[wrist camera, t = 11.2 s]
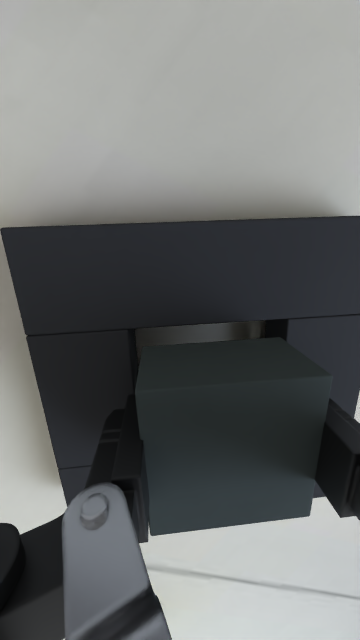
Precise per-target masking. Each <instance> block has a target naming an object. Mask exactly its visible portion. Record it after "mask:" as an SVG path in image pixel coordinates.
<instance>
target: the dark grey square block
mask: <svg viewBox="0 0 360 640" xmlns="http://www.w3.org/2000/svg"><path fill="white" fill-rule="evenodd" d="M332 378H333V376H332V375H331V374H330V373H329V372H327V371H326V370H325V369H323V368H322V367H320V366H319V365H318V364H316V363H315V362H314V361H312V360H311V359H309V358H308V357H307V356H305V355H304V354H303V353H301V352H300V351H298V350H297V349H296V348H294V347H293V346H292V345H290V344H289V343H287V342H286V341H285V340H283V339H282V338H280V337H276V338H262V339H247V340H233V341H219V342H204V343H190V344H176V345H161V346H147V347H143V348H142V352H141V358H140V364H139V370H138V376H137V382H136V388H135V399H136V408H137V417H138V427H139V436H140V440H143V442H144V452H145V461H146V471H147V480H148V490H149V527H150V534H151V536H156V535H164V534H172V533H180V532H188V531H195V530H203V529H211V528H219V527H227V526H235V525H243V524H251V523H259V522H267V521H275V520H283V519H291V518H299V517H307V516H310V511H311V505H312V499H313V493H314V487H315V476H316V470H317V463H318V457H319V451H320V445H321V439H322V433H323V427H324V422H325V421H326V414H327V408H328V402H329V396H330V390H331V384H332Z"/></svg>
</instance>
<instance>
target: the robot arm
mask: <svg viewBox="0 0 360 640" xmlns="http://www.w3.org/2000/svg"><path fill="white" fill-rule="evenodd" d="M315 481H316V482H317V484H318V485H319V487H320V488H321V490H322V491H323V493H324V494H325V496H326V497H327V499H328V500H329V502H330V503H331V505H332V506H333V508H334V509H335V510H336V512H337V513H338V515H339V516H340V518H343V517H351V516H357V518H358V519H359V520H360V423H358V422H357V421H356V420H355V419H352V416H350V415H349V414H348V413H347V412H346V411H343V409H342V408H341V407H340V406H339V405H338V404H337V403H335V402H334V401H333V400H332V399H330V398H329V402H328V408H327V414H326V421H325V422H324V427H323V433H322V439H321V445H320V451H319V457H318V463H317V470H316V476H315ZM148 526H149V490H148V480H147V471H146V461H145V452H144V442H143V440H140V436H139V427H138V417H137V408H136V399H135V394H129V395H128V397H127V402H126V407H125V409H115V410H113V412H112V413H111V414H110V415H109V416H108V417H107V419H106V420H105V423H104V427H103V430H102V434H101V436H100V440H99V444H98V446H97V449H96V453H95V456H94V459H93V462H92V466H91V469H90V472H89V476H88V479H87V482H86V485H85V488H84V490H83V491H81V492H80V493H79V494H78V495H77V496H76V497H75V498H74V499H73V500H72V501H71V503H70V504H69V505H68V507H67V509H66V511H65V513H64V514H62V515H61V516H59V517H58V518H56V519H54V520H52V521H50V522H48V523H46V524H44V525H41V526H39V527H37V528H34V529H32V530H30V531H28V532H25V533H23V534H21V535H20V534H19V531H18V529H17V528H16V527H15V526H14V525H12V524H9V523H0V640H62V639H64V638H65V640H172V638H171V635H170V632H169V629H168V625H167V622H166V619H165V616H164V613H163V610H162V607H161V604H160V602H159V599H158V597H157V596H156V595H155V594H154V592H153V589H152V586H151V583H150V580H149V576H148V573H147V570H146V566H145V563H144V559H143V556H142V553H141V549H140V546H139V543H144V542H148Z"/></svg>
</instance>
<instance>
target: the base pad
mask: <svg viewBox="0 0 360 640" xmlns="http://www.w3.org/2000/svg"><path fill="white" fill-rule="evenodd" d="M0 231H1V235H2V240H3V244H4V248H5V252H6V256H7V260H8V264H9V268H10V272H11V277H12V281H13V285H14V289H15V293H16V297H17V301H18V305H19V310H20V314H21V318H22V322H23V326H24V330H25V334H26V335H28V336H27V337H26V339H27V343H28V347H29V351H30V355H31V360H32V364H33V368H34V372H35V376H36V380H37V384H38V388H39V392H40V397H41V401H42V405H43V409H44V413H45V417H46V421H47V425H48V429H49V434H50V438H51V442H52V446H53V450H54V454H55V458H56V462H57V467H58V468H59V469H58V471H59V475H60V479H61V483H62V487H63V491H64V495H65V500H66V504H67V507H68V505H69V504H70V503H71V501H72V500H73V499H74V498H75V497H76V496H77V495H78V494H79V493H80V492H81V491H83V490H84V488H85V485H86V482H87V479H88V476H89V472H90V469H91V466H92V462H93V459H94V456H95V453H96V449H97V446H98V444H99V440H100V436H101V434H102V430H103V427H104V423H105V420H106V419H107V417H108V416H109V415H110V414H111V413H112V412H113V410H115V409H125V407H126V402H127V397H128V395H129V394H135V388H136V382H137V376H138V361H137V351H136V341H135V331H134V329H136V328H151V327H166V326H182V325H197V324H212V323H228V322H243V321H258V320H266V332H265V338H276V337H280V338H282V339H283V340H285V341H286V342H287V343H289V344H290V345H292V346H293V347H294V348H296V349H297V350H298V351H300V352H301V353H303V354H304V355H305V356H307V357H308V358H309V359H311V360H312V361H314V362H315V363H316V364H318V365H319V366H320V367H322V368H323V369H325V370H326V371H327V372H329V373H330V374H331V375H332V376H333V378H332V384H331V390H330V396H329V398H330V399H332V400H333V401H334V402H335V403H337V404H338V405H339V406H340V407H341V408H342V409H343V411H346V412H347V413H348V414H349V415H350V416H352V419H354V415H355V410H356V405H357V400H358V395H359V391H360V216H338V217H308V218H278V219H248V220H218V221H187V222H157V223H127V224H97V225H67V226H37V227H7V228H1V229H0ZM317 497H325V494H324V493H323V491H322V490H321V488H320V487H319V485H318V484H317V482H316V481H315V487H314V493H313V498H317Z"/></svg>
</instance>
